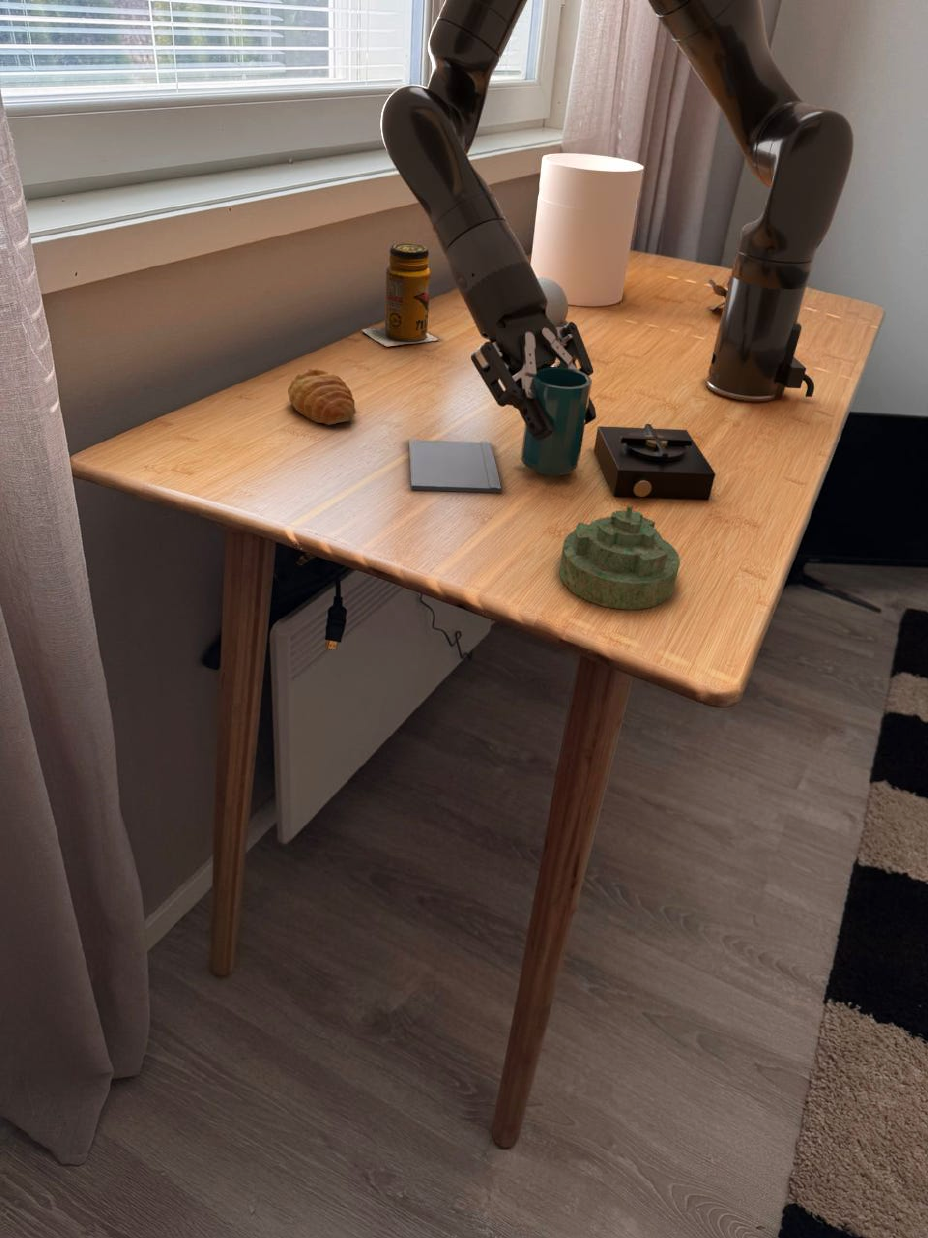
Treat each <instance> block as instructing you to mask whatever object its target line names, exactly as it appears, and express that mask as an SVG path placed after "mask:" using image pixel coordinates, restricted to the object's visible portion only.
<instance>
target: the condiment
mask: <svg viewBox="0 0 928 1238" xmlns="http://www.w3.org/2000/svg"><path fill="white" fill-rule="evenodd" d="M429 252H430V251H429V249H428V248H427V247H426V246H424V245H422V244H417V243H409V242H408V243H406V242H402V243H400V242H399V243H395V244H392V245H391V246H390V248H389V258H388V262H389V264H388V266H387V267H386V270H385V299H384V300H385V301H384V303H385V305H384V310H385V311H384V326H381V327H374V328H362V329H361V331H363V332H364V333H365V334H366V336H369V337H370V338H371V339H373V340H375V342H378V343H380V344H381V345H383V346H385V347H393V346H395V347H396V346H399V345H400V346H401V345H406V344H407V345H409V344H420V343H428V342H436V341H438V340H439V338H438V337H436V336H434V335H431V334H430V333H428V325H429V312H430V311H429V309H430V308H429V306H430V305H429V303H430V288H431V286H430V285H431V270H430V268H429V263H430V261H429V254H430V253H429Z"/></svg>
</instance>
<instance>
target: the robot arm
mask: <svg viewBox="0 0 928 1238" xmlns="http://www.w3.org/2000/svg"><path fill="white" fill-rule="evenodd" d="M527 2H528V0H444V3H443V5H442V7H441V9H440V11H439V14H438V16H437V19H436V20H435V22H434V25H433V27H432V30H431V32H430V36H429V39H428V42H427V43H428V44H427V49H428V54H429V57H430V60H431V63H432V71H431V75H430V79H429V82H428V84H427V87H426V86H423V85H419V84H409V85H404V86H401V87H399V88H397V89H396V90H394V91H393V92H392V93H391V94H390V95H389V97H388V98H387V100H386V101H385V103H384V104H383V108H382V111H381V116H380V132H381V138H382V141H383V142H382V143H383V144H384V147H385V150H386V152H387V154H388V156H389V159H390V160H391V162H392V163H393V165H394V168H395V169H396V170H397V172H398V174H399V175H400V176H401V178H402V180H403V181H404V183H405V185H406V186H407V188H408V189H409V191H410V192H411V194H412V195H413V197H414V198H415V199H416V201H417V202H418V204H419V205H420V207H421V208H422V210H423V211H424V213H425V215H426V217H427V219H428V222H429V224H430V226H431V229H432V231H433V233H434V235H435V238H436V240H437V242H438V244H439V246H440V248H441V250H442V252H443V254H444V256H445V258H446V261H447V263H448V266H449V270H450V272H451V275H452V279H453V281H454V283H455V285H456V287H457V289H458V291H459V293H460V295H461V297H462V299H463V301H464V303H465V306H466V307H467V310H468V312H469V314H470V316H471V318H472V320H473V323H474V324H475V326H476V328H477V330H478V333H479V335H480V336H481V337H482V338H483V339H485V340H489V341H485V342H484V343H483V344H482V345H481V346H479V347H478V348H477V349H476V350H474V352H473V353H472V354H471V355H470V360H471V362H472V364H473V365H474V367H475V368H476V370H477V372H478V374H479V375H480V377H481V379H482V381H483V382H484V384H485V386H486V387H487V389H488V390H489V392H490V394H491V396H492V397H493V399H494V401H495V402H496V404H497V405H498V406H499V407H501V408H504V407H506V406H512V407H513V408H514V409H516V410H518V412H519V414H520V417H521V418H522V420H523V422H524V424H525V423H526V426H527V428H528V430H529V432H530V434H531V435H532V436H534V438H535V440H537V441H540V440H542V439H545V438H546V437H548V436H549V435H551V434H552V433H553V427H552V425H551V423H550V421H549V419H548V417H547V415H546V412H545V410H544V408H543V406H542V404H541V402H540V400H539V398H536V399H534V397H535V395H536V394H535V385H534V382H533V378H535V376H536V373H537V371H536V370H537V369H539V368H544V367H564V368H569V369H574V370H577V371H580V372H583V373H585V374H586V375H588V376H589V377H590V376H592V374H594V368H593V365H592V363H591V362H592V361H591V360H590V358H589V355H588V352H587V349H586V347H585V344H584V341H583V339H582V337H581V334H580V331H579V329H578V326H577V324H576V323H575V322H573V321H569V322H568V324H567V325H565V326H564V327H555V326H554V324H553V323H552V322H551V321H550V320H549V319H548V317H547V316H546V307H547V303H548V302H547V298H546V296H545V294H544V292H543V290H542V288H541V285H540V283H539V281H538V279H537V277H536V275H535V273H534V271H533V269H532V267H531V262H530V260H529V259H528V256H527V255H526V253H525V250H524V248H523V246H522V244H521V243H520V241H519V238H518V237H517V236H516V234H515V233H514V231H513V230H512V229H511V227H510V224H509V223H508V220H507V219H506V217H505V215H504V213H503V210H502V208H501V206H500V204H499V201H498V200H497V198H496V196H495V194H494V192H493V191H492V189H491V187H490V185H489V184H488V182H487V180H486V179H485V178H484V177H483V176H482V175H481V174H480V173H479V172H478V171H477V170H476V169H475V167H474V165H473V164H472V163H471V161H470V159H469V157H468V154H469V152H470V150H471V147H472V146H473V143H474V141H475V138H476V135H477V131H478V128H479V125H480V121H481V118H482V114H483V110H484V108H485V103H486V100H487V95H488V91H489V86H490V83H491V79H492V76H493V73H494V72H495V70H496V69H497V66H498V64H499V63H500V60H501V58H502V57H503V53H504V52H505V50H506V48H507V45H508V43H509V41H510V39H511V37H512V35H513V32H514V30H515V28H516V26H517V24H518V22H519V19H520V17H521V15H522V13H523V11H524V8H525V6H526V4H527ZM647 2H648V3H649V6H650V7H651V9H652V11H653V13H655V15H656V17H657V18H658V20H659V22H660V23H661V25H662V26H663V28H664V29H665V31H666V32H667V34H668V36H669V37H670V38H671V40H672V42H673V43H674V44H675V46H676V47H677V49H678V50H679V51H680V52H681V54H682V55H683V57H684V58H685V60H686V61H687V63H688V64H689V65H690V67H691V69H692V70H693V71H694V73H695V75H696V76H697V77H698V79H699V80H700V82H701V83H702V84H703V86H704V87H705V88H706V90H707V91H708V92H709V93H710V95H711V96H712V98H713V99H714V100H715V102H716V103H717V105H718V106H719V108H720V110H721V112H722V114H723V116H724V117H725V119H726V121H727V123H728V125H729V127H730V129H731V131H732V133H733V135H734V138H735V139H736V141H737V144H738V146H739V148H740V150H741V152H742V155H743V156H744V159H745V161H746V162H747V164H748V166H749V168H750V170H751V172H752V173H753V175H754V176H755V177H756V178H757V179H758V181H759V182H760V183H762V184H764V185H765V186H766V187H769V190H768V194H767V198H766V201H765V204H764V207H763V209H762V213H761V214H760V215H759V217H757V219H755V220H752V221H749V222H747V223H745V225H744V226H743V227H742V228H741V231H740V235H739V238H738V243H737V248H736V250H735V251H736V252H735V256H734V261H733V263H732V269H731V274H730V282H729V286H728V288H727V289H726V290H727V295H726V298H724V301H725V303H724V305H723V309H722V313H721V316H720V321H719V324H718V325H719V326H718V330H717V334H716V337H715V343H714V348H712V350H711V353H710V365H709V367H708V373H707V376H706V380H705V386H706V387H707V388H708V389H709V390H710V391H712V392H714V393H716V394H717V395H720V396H723V397H725V398H729V399H733V400H737V401H744V402H754V403H755V402H758V403H759V402H768V401H771V400H775V399H778V400H779V399H783V396H784V393H785V389H786V388H788V389H801V388H802V384H803V382H804V383H805V384H806V388H807V389H806V392H805V398H813V394H814V391H815V384H814V381H813V379H812V378H811V377H810V376H809V374H806V371H807V368H806V367H805V365H804V364H803V363H802V362H801V361H799V359H797V358H796V357H795V354H796V350H797V346H798V343H799V340H800V336H801V332H802V325H801V324H800V323H799V322H798V319H799V316H800V315H799V314H800V311H801V307H802V304H803V300H804V297H805V293H806V289H807V286H808V282H809V279H810V275H811V271H812V268H813V264H814V261H815V258H816V254H817V252H818V251H817V250H818V248H819V246H820V245H821V243H822V242H823V241H824V239H825V238H826V236H827V235H828V233H829V231H830V229H831V227H832V223H833V220H834V218H835V215H836V212H837V208H838V206H839V203H840V199H841V197H842V194H843V192H844V191H843V190H844V188H845V186H846V185H845V184H846V181H847V178H848V175H849V171H850V168H851V164H852V160H853V156H854V155H853V154H854V144H855V143H854V142H855V141H854V132H853V128H852V126H851V123H850V122H849V120H848V119H847V117H845V115H843V114H842V113H840V112H839V111H837V110H834V109H830V108H827V107H823V106H819V105H814V104H810V103H808V102H806V101H805V100H803V98H801V97H800V96H799V94H798V93H797V92H796V91H795V90H794V88H793V86H792V85H791V84H790V82H789V81H788V80H787V78H786V76H785V74H783V71H781V68H779V66H778V64H777V62H776V61H775V59H774V56H773V54H772V52H771V48H770V46H769V42H768V37H767V32H766V31H767V30H766V24H765V23H766V22H765V16H764V10H763V5H762V1H761V0H647ZM556 360H558V362H557V363H556ZM576 361H578V365H579V368H578V365H577V363H576ZM555 363H556V364H555ZM499 380H500V382H501V384H502V386H503V387H504V389H505V390H504V389H503V387H502V386H501V384H500V383H499ZM596 418H597V412H596V407H595V405H594V403H593V401H592V399H591V397H589V403H588V409H587V415H586V421H585V426H586V425H588V424H590V423H591V422H593V421H595V419H596Z"/></svg>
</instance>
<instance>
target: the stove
mask: <svg viewBox="0 0 928 1238" xmlns="http://www.w3.org/2000/svg"><path fill="white" fill-rule="evenodd" d="M593 452H594V455H595V457H596V459H597V461H598V464H599V466H600V468H601V470H602V473H603V476H604V478H605V480H606V483H607V484H608V486H609V489H610V491H611V494H612V495H613V497H614V498H636V499H637V498H638V499H665V500H667V499H668V500H692V501H693V500H695V501H697V500H698V501H709V500H710V497H711V493H712V489H713V487H714V482H715V478H716V472H715V471H714V469H713V468H712V466H711V464H710V463H709V461H708V460H707V459H706V457H705V456H704V454H703V453H702V451H701V450H700V448H699V447H698V445H697V444H696V442H695V441H694V439H693V438H692V436H691V435H690V433H689V432H688V430H687V429H674V428H653V425H652V424H651V423H645V425H644V427H629V426H627V427H625V426H623V427H622V426H602V425H601V426H600V425H599V426H597V431H596V435H595V441H594V447H593Z"/></svg>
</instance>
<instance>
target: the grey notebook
mask: <svg viewBox="0 0 928 1238" xmlns="http://www.w3.org/2000/svg"><path fill="white" fill-rule="evenodd" d="M408 457H409V458H408V459H409V475H410V490H411V491H426V492H427V491H429V492H430V491H431V492H457V493H459V492H461V493H485V494H486V493H487V494H488V493H489V494H490V493H491V494H501V493H502V487H501V482H500V477H499V473H498V468H497V464H496V460H495V454H494V451H493V446H492V443H491V442H487V441H480V442H471V441H470V442H468V441H449V440H448V441H443V440H421V439H408Z"/></svg>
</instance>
